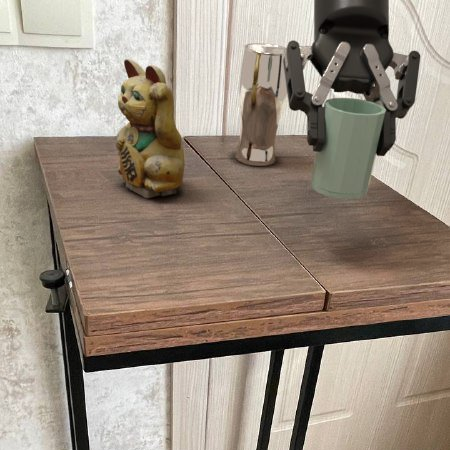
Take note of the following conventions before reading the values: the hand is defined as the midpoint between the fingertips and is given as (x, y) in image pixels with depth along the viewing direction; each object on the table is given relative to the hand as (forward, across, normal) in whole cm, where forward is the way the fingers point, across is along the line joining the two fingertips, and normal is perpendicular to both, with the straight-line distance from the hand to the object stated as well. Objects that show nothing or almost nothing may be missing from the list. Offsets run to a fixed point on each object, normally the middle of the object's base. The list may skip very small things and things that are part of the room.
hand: (351, 149), depth 63 cm
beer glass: (-14, -5, +32) cm, 35 cm away
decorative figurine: (-5, -20, +22) cm, 30 cm away
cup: (+2, 0, +4) cm, 5 cm away
